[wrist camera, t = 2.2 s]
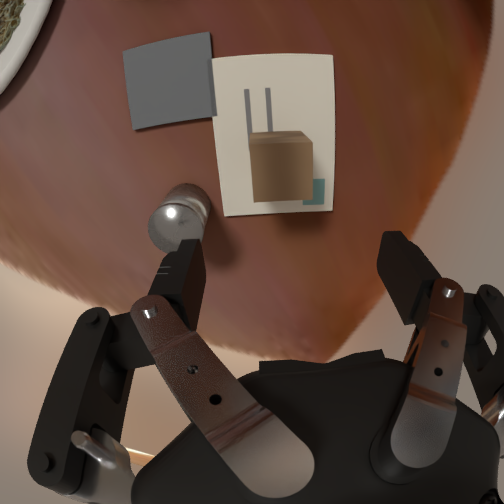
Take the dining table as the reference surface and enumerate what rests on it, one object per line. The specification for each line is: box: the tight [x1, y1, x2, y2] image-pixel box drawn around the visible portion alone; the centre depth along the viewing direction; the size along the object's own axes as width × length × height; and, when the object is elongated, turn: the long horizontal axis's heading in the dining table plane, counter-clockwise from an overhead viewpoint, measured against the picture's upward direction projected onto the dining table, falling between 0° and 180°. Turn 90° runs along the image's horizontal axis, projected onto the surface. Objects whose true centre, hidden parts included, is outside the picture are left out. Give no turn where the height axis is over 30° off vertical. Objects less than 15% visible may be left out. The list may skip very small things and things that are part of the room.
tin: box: [148, 183, 211, 254], centre depth 28 cm, size 5×5×6 cm
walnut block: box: [249, 131, 313, 203], centre depth 25 cm, size 5×5×6 cm
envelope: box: [208, 54, 335, 216], centre depth 26 cm, size 12×17×1 cm
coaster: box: [123, 32, 217, 130], centre depth 23 cm, size 9×9×1 cm
